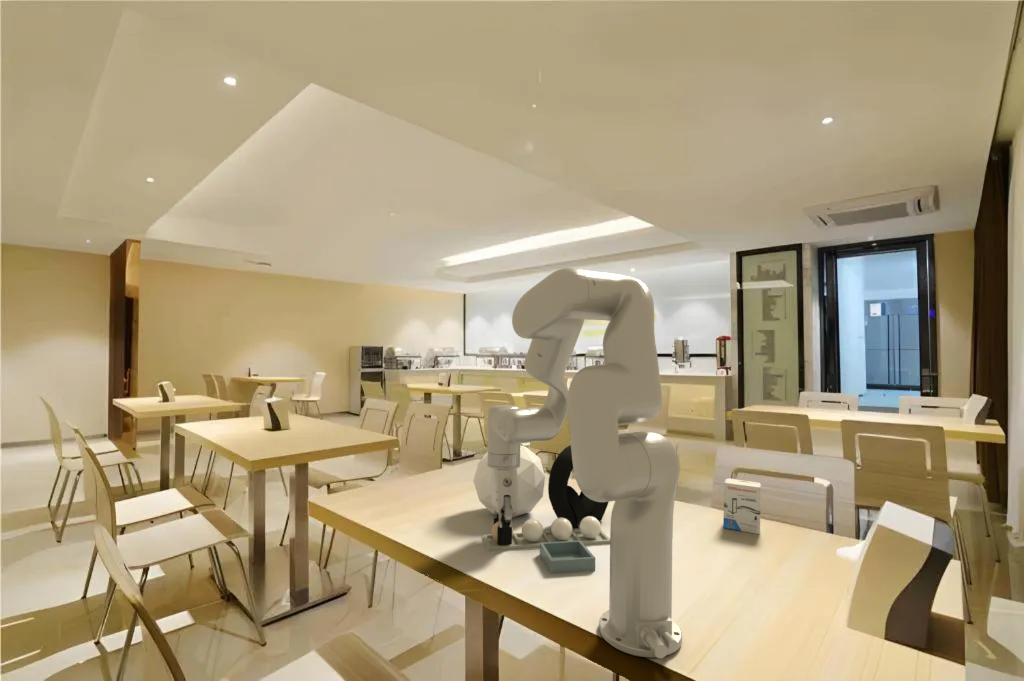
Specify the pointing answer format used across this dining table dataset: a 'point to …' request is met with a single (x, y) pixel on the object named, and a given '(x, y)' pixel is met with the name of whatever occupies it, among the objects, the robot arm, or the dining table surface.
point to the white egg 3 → (590, 527)
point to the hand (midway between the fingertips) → (502, 538)
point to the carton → (542, 541)
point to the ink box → (742, 505)
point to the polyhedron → (528, 482)
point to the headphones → (570, 493)
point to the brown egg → (494, 531)
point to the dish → (567, 557)
